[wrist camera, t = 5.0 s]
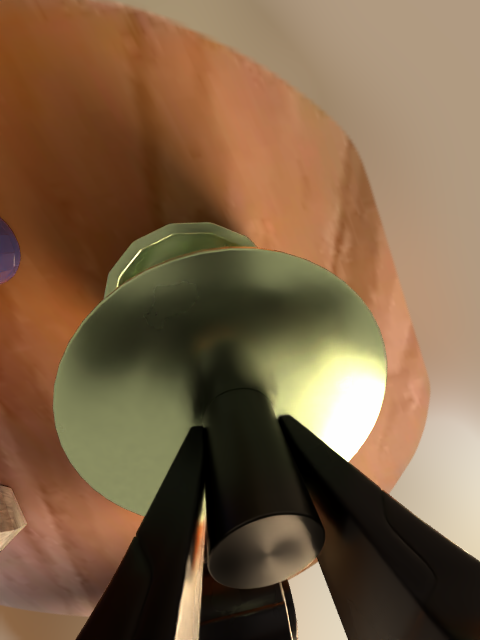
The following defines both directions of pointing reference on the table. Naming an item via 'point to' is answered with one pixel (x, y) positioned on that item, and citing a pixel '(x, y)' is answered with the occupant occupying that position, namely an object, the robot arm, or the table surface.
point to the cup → (8, 253)
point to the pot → (170, 248)
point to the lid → (223, 395)
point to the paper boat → (9, 517)
